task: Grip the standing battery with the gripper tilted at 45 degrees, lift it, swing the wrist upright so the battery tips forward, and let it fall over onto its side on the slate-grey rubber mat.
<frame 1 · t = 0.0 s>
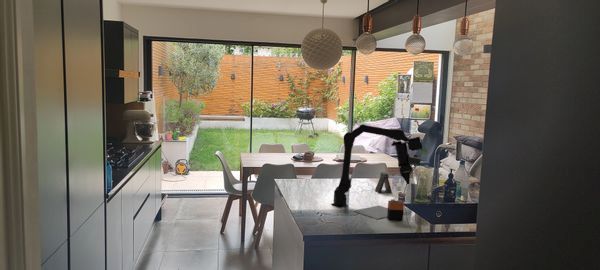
hand: (407, 182, 223), 15 cm above the kitchen island, tool pointing down, fingers open, 9 cm apart
battery: (394, 220, 208), on the kitchen island
mat: (378, 212, 220), on the kitchen island
door stopper: (383, 192, 267), on the kitchen island
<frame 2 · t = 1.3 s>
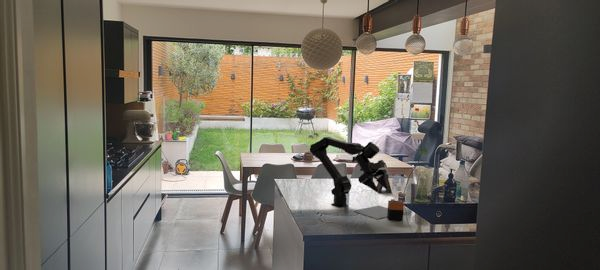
hand: (382, 189, 212), 13 cm above the kitchen island, tool tilted 45°, fingers open, 9 cm apart
nothing on the kitchen island moved.
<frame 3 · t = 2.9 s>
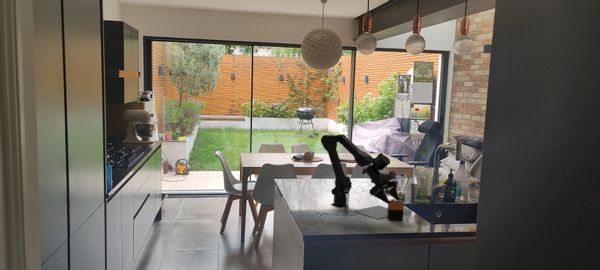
hand: (394, 202, 208), 9 cm above the kitchen island, tool tilted 45°, fingers open, 9 cm apart
nothing on the kitchen island moved.
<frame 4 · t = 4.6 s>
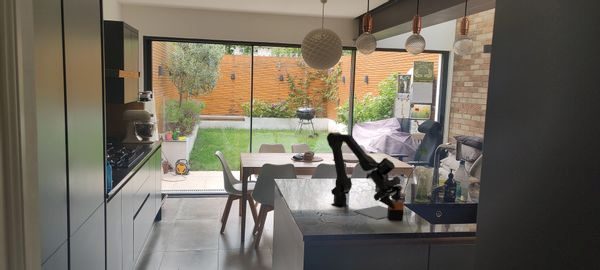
hand: (398, 207, 207), 7 cm above the kitchen island, tool tilted 45°, fingers closed on battery, 7 cm apart
battery: (394, 220, 208), on the kitchen island, touching gripper
everything else where it was.
when the fingers open (11 cm above the kitchen island, at t = 6.3 s): battery drops 2 cm, resting on mat.
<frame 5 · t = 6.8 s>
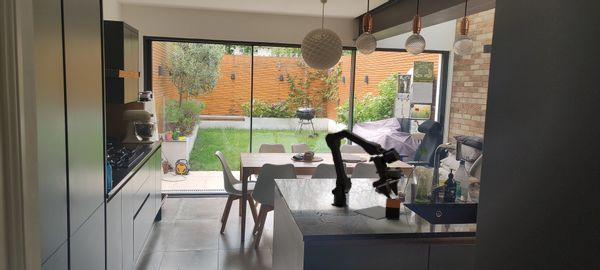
hand: (393, 197, 211), 10 cm above the kitchen island, tool tilted 30°, fingers open, 7 cm apart
battery: (392, 218, 210), resting on mat, touching gripper
everything else where it was.
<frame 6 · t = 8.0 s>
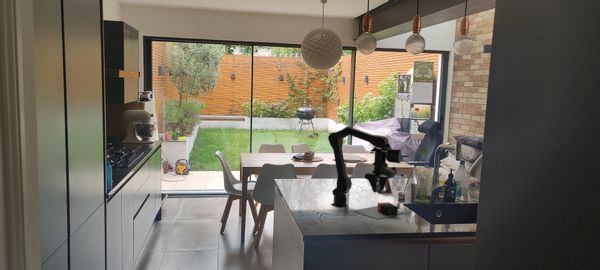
hand: (378, 191, 219), 11 cm above the kitchen island, tool pointing down, fingers open, 7 cm apart
battery: (392, 211, 213), point 3 cm above the kitchen island, touching mat
everything else where it was.
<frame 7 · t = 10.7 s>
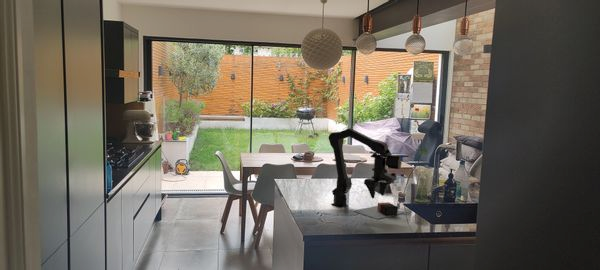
hand: (377, 197, 219), 8 cm above the kitchen island, tool pointing down, fingers open, 9 cm apart
nothing on the kitchen island moved.
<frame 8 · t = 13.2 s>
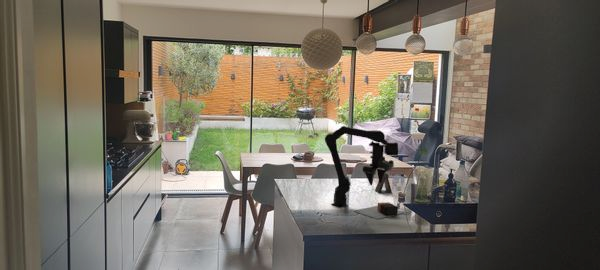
hand: (375, 183, 227), 13 cm above the kitchen island, tool pointing down, fingers open, 9 cm apart
nothing on the kitchen island moved.
at the end: battery inside the target area (8.5 cm from its centre), point 2.6 cm above the kitchen island; battery tilted 90°; the gripper is holding nothing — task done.
